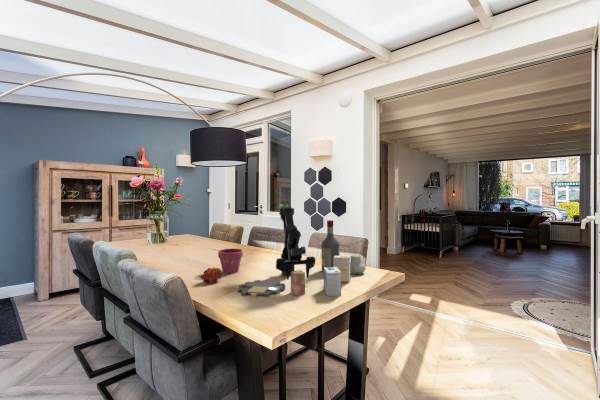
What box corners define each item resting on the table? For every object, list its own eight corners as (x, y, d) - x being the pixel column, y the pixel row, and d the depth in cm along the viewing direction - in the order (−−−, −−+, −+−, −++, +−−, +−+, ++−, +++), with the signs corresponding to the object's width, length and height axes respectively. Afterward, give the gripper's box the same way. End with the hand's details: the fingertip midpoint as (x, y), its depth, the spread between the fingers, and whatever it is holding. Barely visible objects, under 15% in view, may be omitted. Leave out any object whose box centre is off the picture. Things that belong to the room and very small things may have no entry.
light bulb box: (323, 289, 150) (323, 266, 150) (337, 288, 151) (336, 266, 151) (327, 296, 140) (326, 272, 139) (341, 295, 140) (341, 272, 140)
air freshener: (367, 273, 177) (367, 256, 176) (357, 276, 172) (357, 258, 172) (354, 269, 186) (354, 253, 186) (344, 272, 181) (344, 255, 181)
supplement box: (350, 280, 164) (350, 255, 164) (349, 283, 159) (348, 257, 159) (335, 279, 167) (335, 255, 166) (333, 281, 162) (333, 256, 162)
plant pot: (247, 270, 187) (247, 249, 187) (231, 276, 175) (230, 253, 175) (230, 267, 195) (230, 247, 194) (213, 272, 183) (213, 251, 182)
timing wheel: (248, 281, 165) (248, 278, 165) (290, 283, 160) (290, 280, 160) (229, 295, 142) (229, 292, 142) (278, 298, 138) (278, 295, 138)
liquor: (328, 274, 177) (327, 221, 176) (320, 270, 185) (319, 220, 184) (341, 271, 181) (341, 220, 180) (332, 268, 189) (332, 219, 189)
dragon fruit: (224, 283, 167) (202, 290, 160) (218, 271, 172) (197, 278, 165) (226, 273, 162) (203, 280, 155) (219, 261, 167) (197, 268, 160)
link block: (300, 291, 148) (300, 270, 147) (305, 294, 143) (304, 272, 143) (290, 292, 145) (290, 271, 145) (295, 295, 141) (295, 273, 141)
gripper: (276, 241, 146) (279, 270, 136) (314, 240, 150) (320, 268, 139) (274, 255, 154) (277, 283, 143) (310, 253, 158) (316, 280, 147)
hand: (298, 278), depth 143 cm, fingers open, 9 cm apart
